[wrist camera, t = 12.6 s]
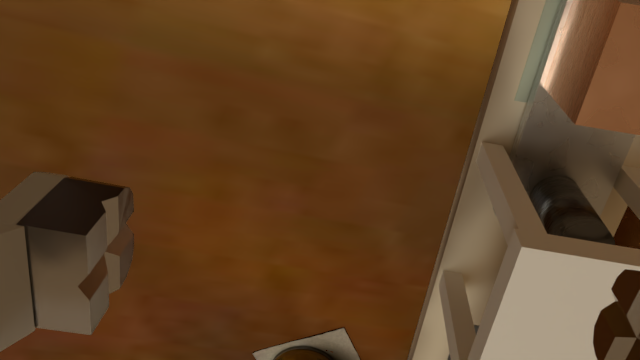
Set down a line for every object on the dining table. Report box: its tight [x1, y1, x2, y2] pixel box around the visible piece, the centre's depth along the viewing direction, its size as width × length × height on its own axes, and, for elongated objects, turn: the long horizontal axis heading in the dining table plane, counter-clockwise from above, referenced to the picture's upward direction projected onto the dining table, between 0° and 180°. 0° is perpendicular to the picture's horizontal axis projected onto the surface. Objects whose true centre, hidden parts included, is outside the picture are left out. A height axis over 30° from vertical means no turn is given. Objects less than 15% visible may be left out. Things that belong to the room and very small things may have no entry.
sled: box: [493, 0, 640, 245], centre depth 31 cm, size 7×24×7 cm, turn 172°
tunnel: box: [438, 142, 640, 360], centre depth 35 cm, size 11×12×12 cm
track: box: [407, 0, 640, 360], centre depth 41 cm, size 11×42×2 cm, turn 172°
